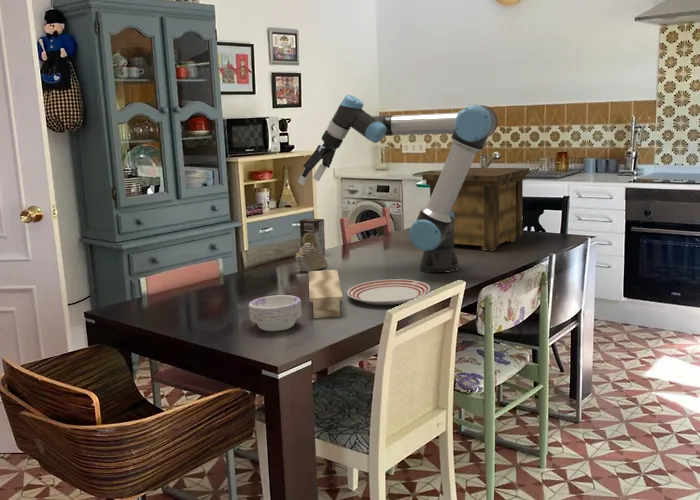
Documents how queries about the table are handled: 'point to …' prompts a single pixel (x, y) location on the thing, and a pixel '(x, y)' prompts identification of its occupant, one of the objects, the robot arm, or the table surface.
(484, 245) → the crate
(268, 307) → the paper bowls
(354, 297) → the dinner plate
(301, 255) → the fossil tooth
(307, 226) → the coffee box
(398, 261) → the table surface
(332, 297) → the long wooden block
